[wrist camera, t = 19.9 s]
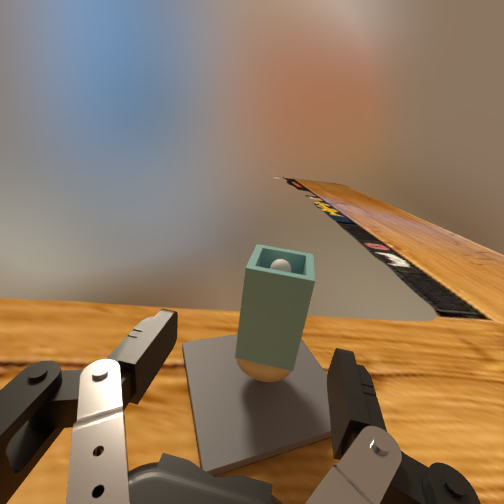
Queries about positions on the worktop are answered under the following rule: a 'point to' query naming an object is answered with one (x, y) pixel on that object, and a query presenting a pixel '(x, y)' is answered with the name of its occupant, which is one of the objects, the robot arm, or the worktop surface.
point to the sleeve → (274, 307)
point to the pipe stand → (252, 402)
